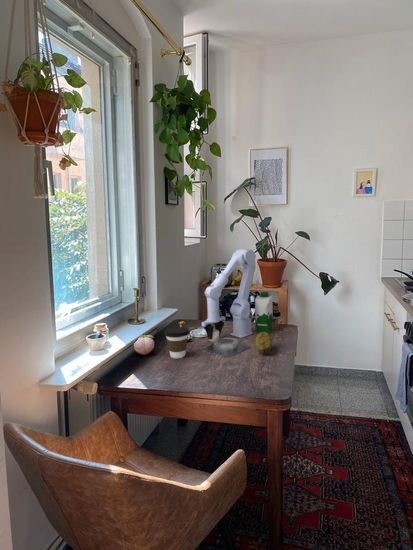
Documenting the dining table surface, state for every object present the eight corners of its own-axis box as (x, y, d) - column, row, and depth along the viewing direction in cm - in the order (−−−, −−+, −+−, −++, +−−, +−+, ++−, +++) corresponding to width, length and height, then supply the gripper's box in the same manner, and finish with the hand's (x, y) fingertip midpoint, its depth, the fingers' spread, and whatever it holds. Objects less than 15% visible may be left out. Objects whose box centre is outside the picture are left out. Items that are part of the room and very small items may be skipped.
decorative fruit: (152, 350, 190) (151, 329, 188) (156, 355, 182) (155, 334, 181) (132, 353, 187) (130, 332, 185) (135, 359, 179) (134, 337, 178)
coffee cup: (186, 361, 175) (185, 334, 173) (162, 359, 177) (161, 333, 175) (192, 352, 186) (191, 326, 184) (169, 351, 188) (168, 326, 186)
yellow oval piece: (251, 355, 179) (250, 337, 178) (257, 345, 191) (257, 329, 190) (269, 357, 176) (269, 339, 175) (275, 347, 188) (275, 330, 187)
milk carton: (273, 328, 217) (273, 292, 214) (271, 333, 208) (270, 295, 205) (257, 327, 220) (256, 291, 216) (254, 332, 211) (253, 295, 208)
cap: (214, 338, 205) (213, 327, 204) (221, 340, 201) (221, 329, 200) (207, 340, 201) (206, 330, 201) (214, 342, 198) (214, 332, 197)
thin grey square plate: (225, 340, 200) (225, 333, 199) (251, 348, 188) (250, 340, 188) (202, 349, 189) (201, 341, 188) (227, 357, 178) (227, 349, 177)
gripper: (217, 306, 207) (218, 332, 209) (196, 312, 197) (197, 339, 199) (228, 308, 202) (228, 335, 204) (207, 314, 192) (208, 342, 194)
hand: (214, 337), depth 201 cm, fingers closed on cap, 5 cm apart
